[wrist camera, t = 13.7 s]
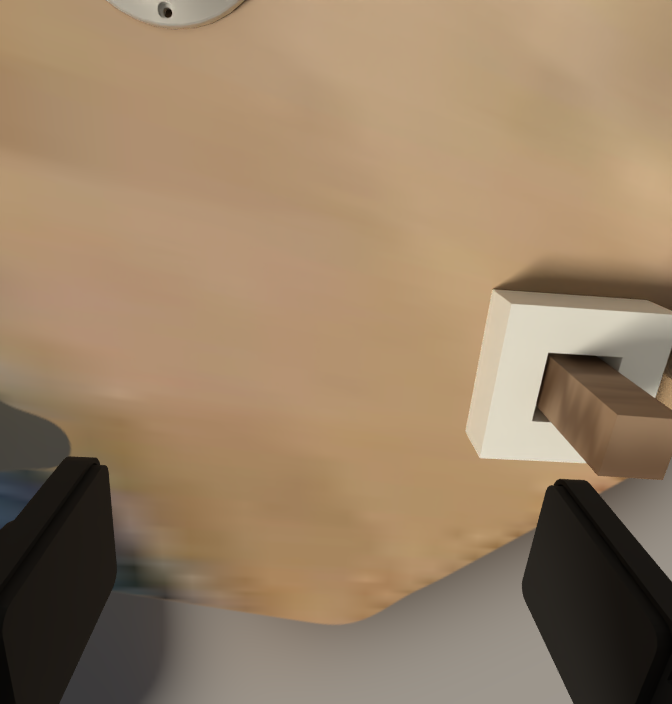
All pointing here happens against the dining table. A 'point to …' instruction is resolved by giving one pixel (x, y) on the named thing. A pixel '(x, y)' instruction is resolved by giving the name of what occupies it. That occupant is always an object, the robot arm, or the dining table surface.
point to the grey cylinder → (668, 366)
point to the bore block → (531, 354)
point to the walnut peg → (606, 417)
